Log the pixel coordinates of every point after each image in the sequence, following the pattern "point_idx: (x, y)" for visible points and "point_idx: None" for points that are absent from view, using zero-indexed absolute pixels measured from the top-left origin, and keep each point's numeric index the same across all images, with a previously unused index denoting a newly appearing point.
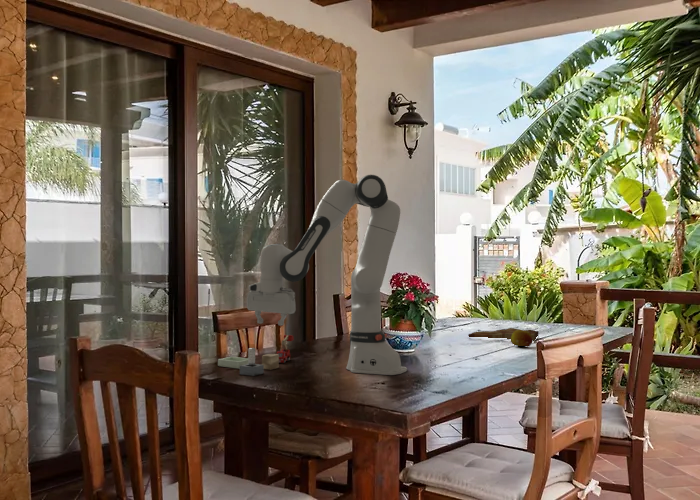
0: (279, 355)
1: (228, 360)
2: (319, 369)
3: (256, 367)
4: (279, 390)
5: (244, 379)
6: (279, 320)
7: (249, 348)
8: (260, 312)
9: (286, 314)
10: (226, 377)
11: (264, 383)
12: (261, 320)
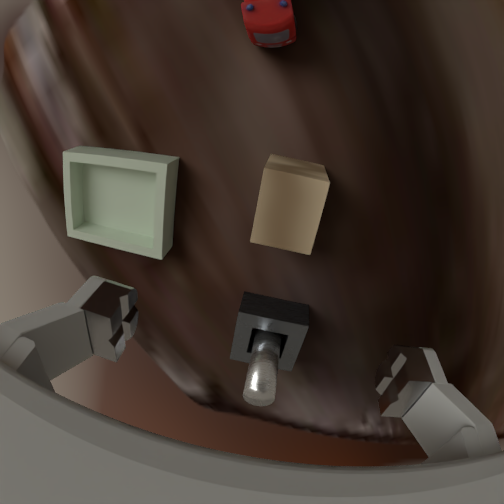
0: (272, 40)
1: (108, 243)
2: (496, 162)
3: (296, 357)
4: (399, 434)
5: (287, 388)
6: (396, 404)
7: (248, 398)
8: (32, 369)
9: (492, 444)
10: (225, 377)
11: (356, 407)
12: (124, 334)
